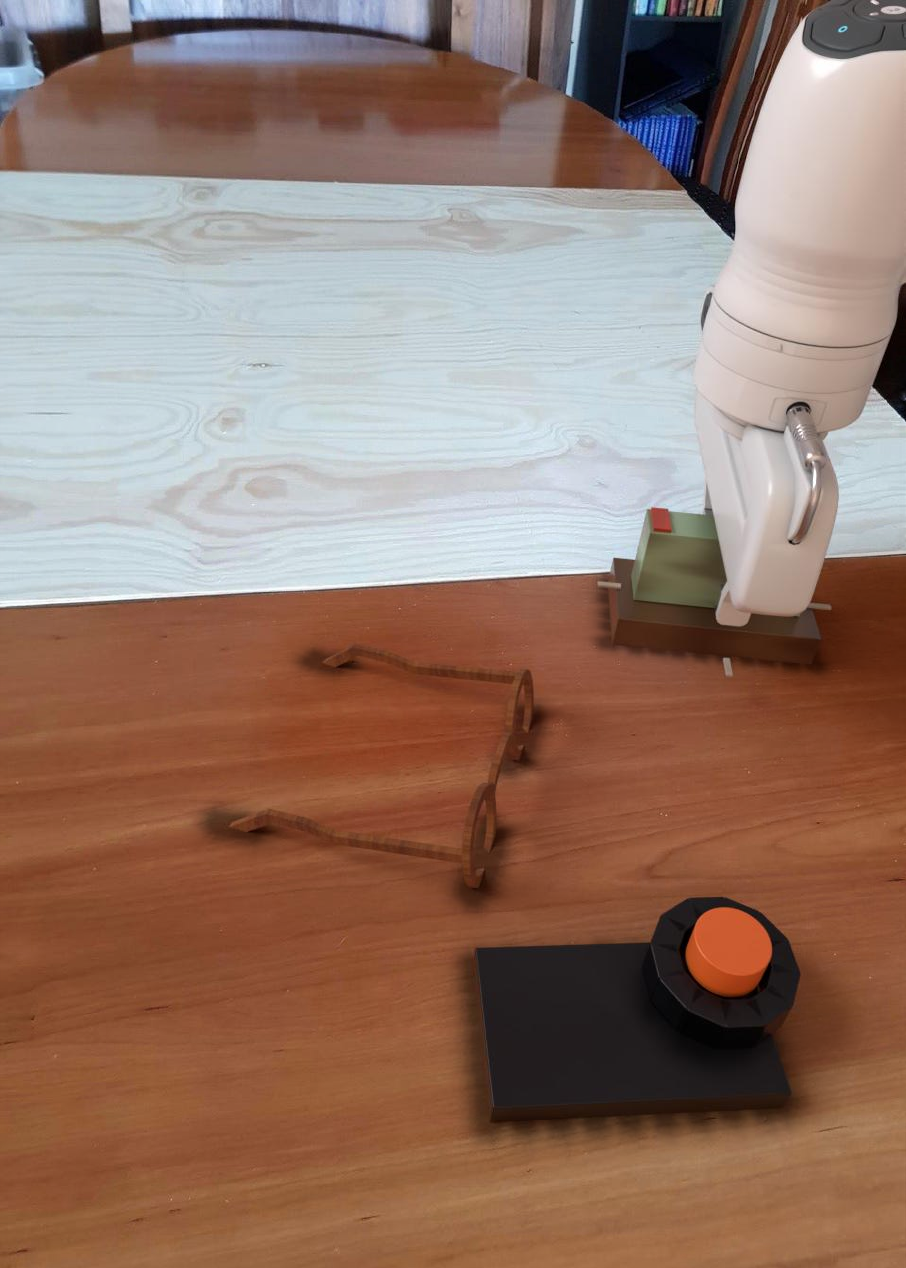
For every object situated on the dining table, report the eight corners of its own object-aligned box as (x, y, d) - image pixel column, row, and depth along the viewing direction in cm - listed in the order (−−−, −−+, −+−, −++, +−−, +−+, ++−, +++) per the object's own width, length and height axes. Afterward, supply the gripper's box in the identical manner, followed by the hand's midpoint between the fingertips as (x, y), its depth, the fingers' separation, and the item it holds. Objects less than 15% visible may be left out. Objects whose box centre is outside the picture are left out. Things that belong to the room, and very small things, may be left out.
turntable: (795, 575, 72) (809, 537, 70) (838, 726, 61) (856, 687, 59) (586, 554, 72) (594, 515, 70) (593, 702, 61) (602, 661, 59)
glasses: (475, 912, 50) (485, 846, 46) (218, 838, 52) (210, 771, 49) (534, 721, 59) (547, 656, 56) (316, 666, 61) (315, 599, 58)
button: (748, 929, 46) (759, 905, 45) (770, 996, 44) (783, 973, 42) (676, 931, 46) (685, 907, 44) (695, 999, 43) (705, 976, 42)
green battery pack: (792, 591, 65) (818, 522, 62) (799, 617, 63) (826, 546, 60) (630, 575, 65) (647, 505, 62) (633, 600, 63) (650, 529, 60)
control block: (749, 944, 50) (772, 894, 47) (806, 1117, 44) (836, 1070, 41) (468, 953, 48) (476, 902, 45) (487, 1133, 42) (497, 1086, 39)
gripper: (897, 478, 46) (804, 701, 55) (810, 287, 62) (748, 486, 71) (754, 463, 46) (684, 689, 55) (702, 276, 62) (654, 477, 71)
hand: (720, 574), depth 63 cm, fingers open, 7 cm apart
